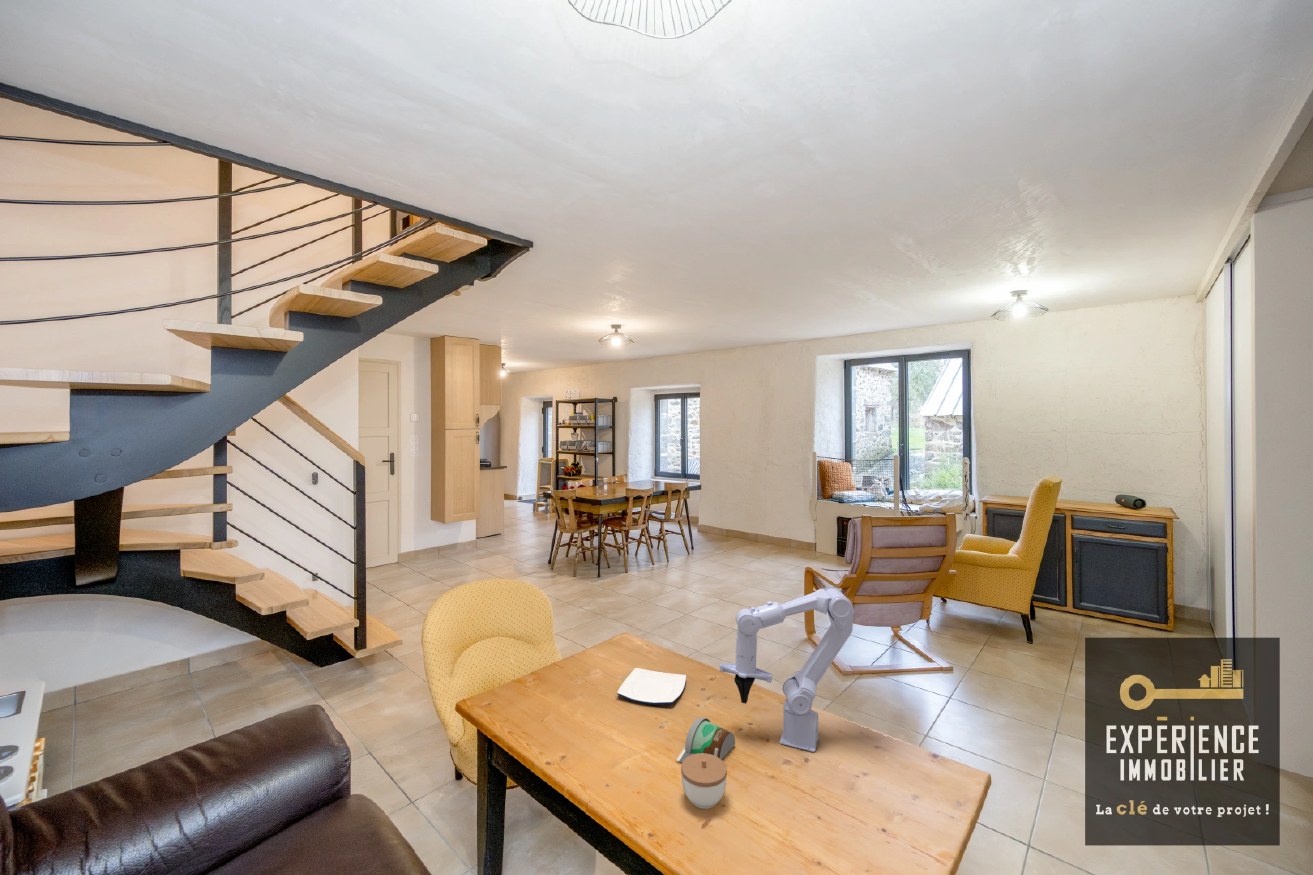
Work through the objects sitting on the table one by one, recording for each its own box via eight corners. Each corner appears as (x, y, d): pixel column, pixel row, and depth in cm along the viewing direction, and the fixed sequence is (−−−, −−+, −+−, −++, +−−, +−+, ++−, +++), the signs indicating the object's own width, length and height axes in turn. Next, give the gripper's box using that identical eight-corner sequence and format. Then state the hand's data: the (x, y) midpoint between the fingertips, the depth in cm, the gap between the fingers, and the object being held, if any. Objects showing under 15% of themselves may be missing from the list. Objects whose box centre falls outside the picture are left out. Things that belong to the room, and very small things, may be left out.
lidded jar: (697, 777, 129) (698, 740, 129) (735, 797, 122) (735, 758, 122) (671, 801, 121) (671, 761, 121) (710, 824, 114) (710, 781, 114)
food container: (717, 741, 133) (684, 728, 139) (716, 765, 133) (683, 750, 139) (737, 719, 144) (706, 708, 149) (737, 741, 144) (705, 729, 149)
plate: (612, 702, 165) (612, 693, 165) (634, 673, 185) (634, 665, 185) (674, 712, 159) (674, 704, 159) (689, 681, 179) (689, 674, 179)
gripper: (717, 653, 145) (715, 702, 145) (769, 664, 139) (767, 714, 139) (724, 644, 151) (722, 690, 151) (774, 654, 145) (772, 702, 146)
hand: (744, 701), depth 146 cm, fingers closed
